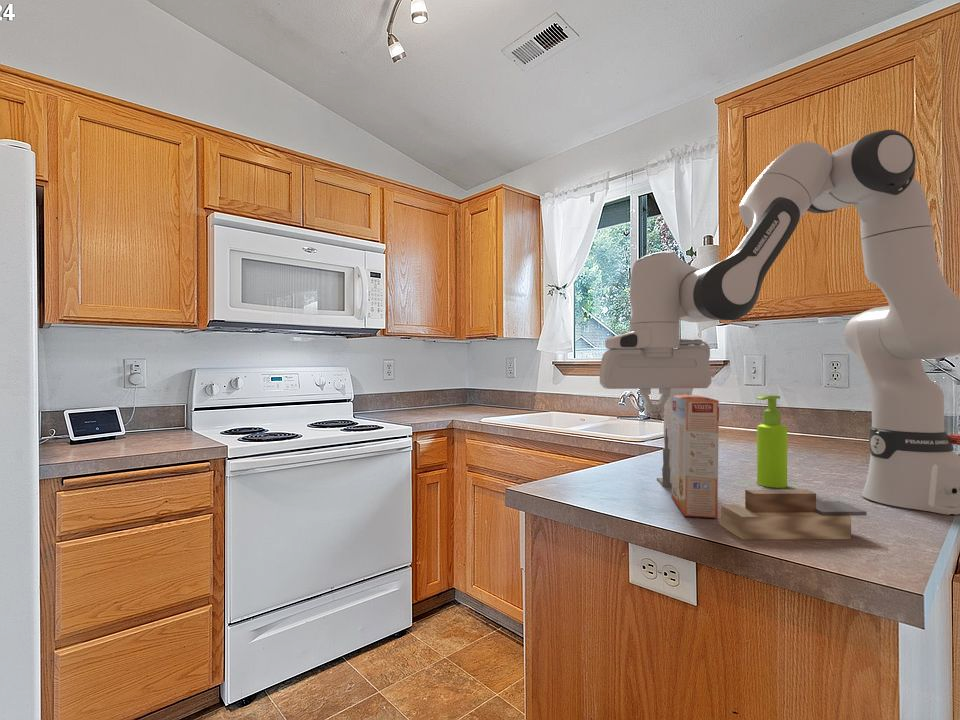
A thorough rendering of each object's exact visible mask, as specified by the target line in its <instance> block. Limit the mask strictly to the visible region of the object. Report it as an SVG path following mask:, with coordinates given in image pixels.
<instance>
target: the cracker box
mask: <svg viewBox="0 0 960 720" xmlns="http://www.w3.org/2000/svg"><path fill="white" fill-rule="evenodd" d="M719 420H720V400H718V399H714V398H710V397H707V396H702V395H698V394H692V395H673V433H672V487H671V498H672V500H673V501H674V502H675V504H676V505H677V507H678V509H679V510H680V511H681V513H682V515H683V516H684V517H689V518H691V517H692V518H705V519H718V515H719V514H718V511H719V510H718V505H719V504H718V502H719V500H718V499H719V495H718V493H719V492H718V491H719V426H720V425H719V424H720V421H719Z"/></svg>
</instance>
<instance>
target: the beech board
mask: <svg viewBox="0 0 960 720" xmlns="http://www.w3.org/2000/svg"><path fill="white" fill-rule="evenodd" d="M720 526H721V527H723V528H724V529H726V530H727V531H729V532H730V533H732V534H733V535H734V536H736V537H737V538H740V539H741V540H852V516H822V515H820V514H817V513H815V512H810V513H754V512H752V511H750V510H748V509H746V508H745V503H743V504H741V503H740V504H739V503H738V504H737V503H735V504H734V503H732V504H731V503H730V504H728V503H726V504H724V503H723V504H722V503H721V504H720Z"/></svg>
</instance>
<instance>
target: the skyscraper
mask: <svg viewBox="0 0 960 720" xmlns="http://www.w3.org/2000/svg"><path fill="white" fill-rule="evenodd" d="M693 390H694V388H674V389H670V396H669V398H668V400H667V401H666V403H665V404H664V413H663V441H664V442H663V443H664V447H662V462H663V465H662V467H661V471H662V473H661V474H662V477H656V481H657V482H658V481H659V482H660V483H659V482H658V483H659V484H660V485H661V487H664V488H665V487H666V488H672V433H673V395H693Z"/></svg>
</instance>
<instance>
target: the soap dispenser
mask: <svg viewBox="0 0 960 720" xmlns="http://www.w3.org/2000/svg"><path fill="white" fill-rule="evenodd" d="M755 399H756V400H763V401H766V400H767V408H765V409H763V419H762V420H763V422H762V423H760V424H758V425H757V426H756V483H757V485H759V486H762V487H766V488H773V489H774V488H775V489H784V488H788V426H786V425H782V421H781V419H782V418H781V417H782V411H781V410H779V408H777V399H779V400H781V395H769V394H762V395H759V396H757V397H755Z"/></svg>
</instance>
